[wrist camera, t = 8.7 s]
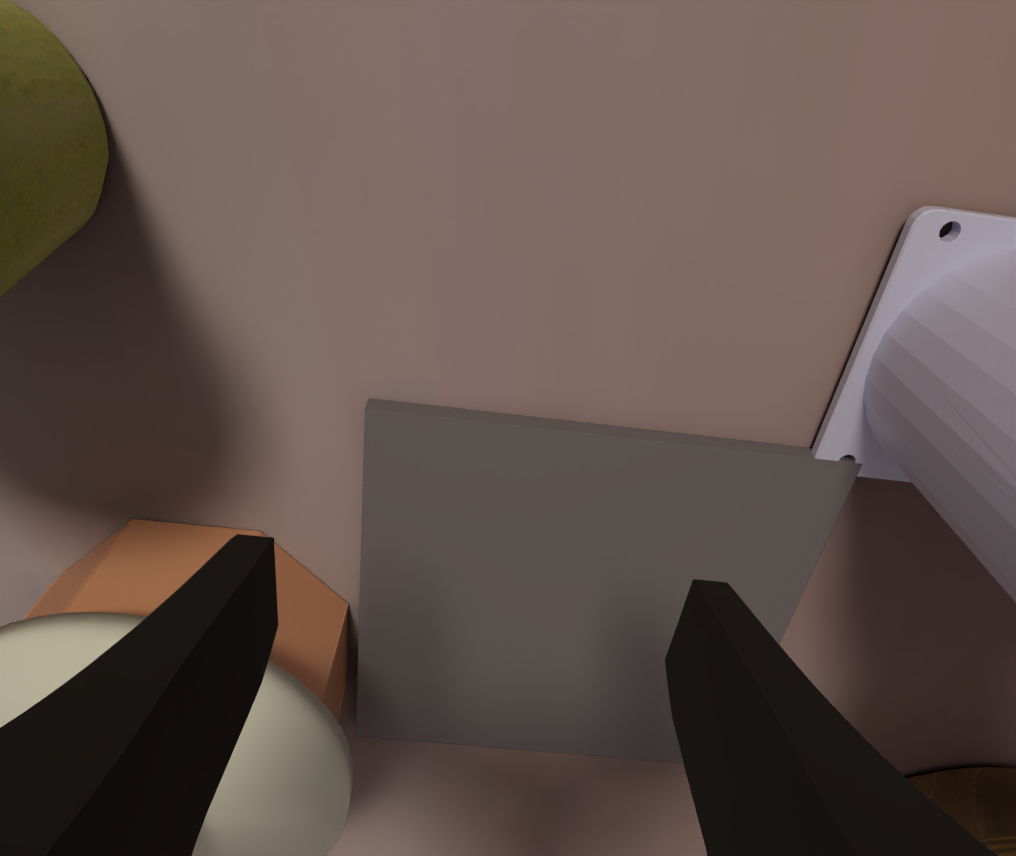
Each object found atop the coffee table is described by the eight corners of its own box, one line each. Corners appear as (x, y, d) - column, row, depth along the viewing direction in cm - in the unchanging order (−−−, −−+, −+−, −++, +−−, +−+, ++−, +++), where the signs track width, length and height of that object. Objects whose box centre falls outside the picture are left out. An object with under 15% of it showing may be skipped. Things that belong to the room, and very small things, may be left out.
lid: (411, 689, 20) (387, 853, 16) (294, 898, 26) (257, 1055, 22) (-62, 553, 17) (-226, 708, 13) (-73, 818, 23) (-191, 980, 19)
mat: (854, 453, 22) (862, 463, 21) (719, 752, 29) (722, 766, 29) (368, 398, 21) (365, 408, 20) (358, 723, 28) (355, 736, 28)
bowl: (349, 539, 24) (314, 657, 19) (346, 730, 29) (317, 857, 24) (40, 509, 23) (-69, 624, 19) (92, 709, 28) (16, 836, 24)
